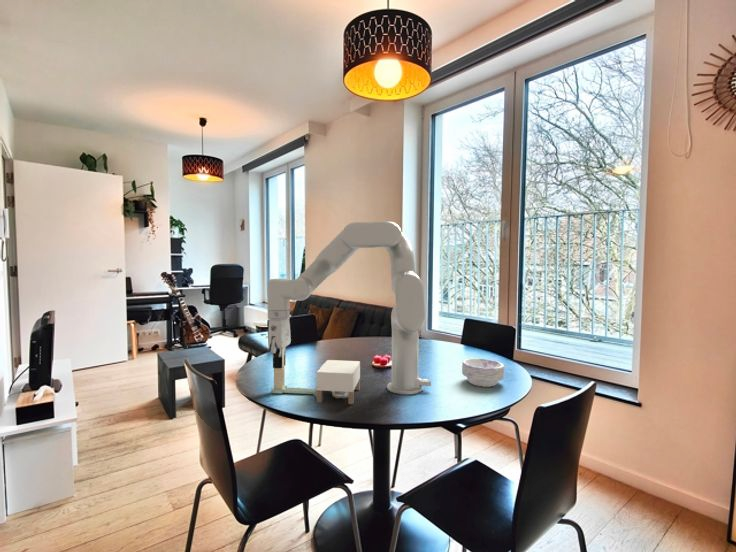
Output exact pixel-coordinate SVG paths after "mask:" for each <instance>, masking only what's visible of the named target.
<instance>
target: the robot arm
mask: <svg viewBox="0 0 736 552" xmlns="http://www.w3.org/2000/svg"><path fill="white" fill-rule="evenodd" d="M366 248H370V249H371V248H384V249H385V250H386V251H387V252H388V255H389V263H390V277H391V279H390V280H391V283H390V284H391V287H390V288H391V290H392V293H393V294H394V297H395V305H394V306H393V307H392V310H391V315H390V321H391V322H390V324H391V382H390V381H389V383H388V384H387V385H386V386H387V387H386V388H387V390H388V391H389V392H391V393H393V394H398V395H406V396H407V395H415V394H419V393H421V392H422V391H423V387H424V386H425V387H431V386H432V380H428V378H421V377H420V374H419V344H420V340H419V338H420V337H419V336H420V335H419V330H421V328H422V327H424V323H425V318H426V316H425V314H426V313H425V294H424V285H423V282H422V279H421V278H420V276H419V275H418V274H416V265H415V264H416V263H415V254H414V249H413V246H412V244H411V242H410V240H409V238H408V237H407V236H406V235H405V234H404V233H403V232H402V229H401V227H400V226H399V225H398V224H397V223H396V222H393V221H389V220H388V221H386V220H385V221H365V222H364V221H363V222H362V221H359V222H357V221H356V222H350V223H348V224H346V225H345V226H344V227H343V229H342V230H341V231H340V232H339V233H338V234H337V235H336V236H335V237H334V238H333V239H332V240H331V241H330V242H329V243H328V244H327V245H326V246H325V247H324V248H323V249H322V250H321V251H320V252H319V254H317V255H316V258H315V259H314V261H313V262H312V263H311V264H310V265H309V266H308V267H307V268H306V269H305V270H304V271H303V272H302V273H300V275H299V276H298V277H297V278H294V279H287V278H272V279H269V280H268V281H267V283H266V285H267V288H266V289H267V320H269V321H268V334H267V338H268V339H267V343H268V344H267V345H268V348H269V349H270V353H271V354H272V368H273V369H274V368H280V369H281V368H282V357H281V349H283V348H284V367H285V366H286V353H287V350H286V347H288V346H289V345H290V344H291V341H292V339H291V337H292V335H291V322H290V319H291V311H290V310H291V303H290V302H291V301H297V302H298V301H300V302H301V301H305V300H307V299H308V298H309V297H310V296H311V294H312V293H313V292H314V291H315V290H316V289H317V288H318V287H319V286H320V285H321V284H322V283H323V282H324V281H325V280H326V279H327V278H329V276H331V275H332V274H334V273H335V272H337V271H338V270H339V269H340V268H341V267H342V266H343V265H344V264H345V263H346V262H347V261H348V260H349V259H350V258H351V257H352V256H353V255H354V254H355V253H356V252H357V251H358V250H359V249H366ZM290 300H291V301H290ZM276 347H278V348H276ZM278 350H279V352H278Z"/></svg>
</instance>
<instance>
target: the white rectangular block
mask: <svg viewBox="0 0 736 552" xmlns="http://www.w3.org/2000/svg"><path fill="white" fill-rule="evenodd" d="M316 388H317V396H316V403H320V402H321V403H322V402H323V391H329V392H332V391H342V392H348V397H347V398H348V401H347V403H348V405H353V404H354V402H355V401H354V400H355V391H360V389H361V361H359V360H342V359H341V360H339V359H338V360H337V359H327V360H326V361H325V362H324V363H323V364H322V365H321V366H320V369H317V371H316ZM322 390H323V391H322Z"/></svg>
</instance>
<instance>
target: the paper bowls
mask: <svg viewBox="0 0 736 552" xmlns="http://www.w3.org/2000/svg"><path fill="white" fill-rule="evenodd" d="M461 363H462V365H461V374H462V375H463V376H464V377H466V379H467V380H468V383H469V384H470V385H471V384H472V385H474V386H477V387H481V386H482V387H481V388H483V387H484V388H490V387H491V386H492V387H495V386H496V385H497V384H498V383H499V381H502V380H504V378H505V377H504V376H505V364H504V363H502V362H500V361H498V360H493V359H489V358H478V357H477V358H476V357H475V358H473V357H472V358H466V359H464V360H462V362H461Z"/></svg>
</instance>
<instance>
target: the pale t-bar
mask: <svg viewBox="0 0 736 552" xmlns="http://www.w3.org/2000/svg"><path fill="white" fill-rule="evenodd" d="M276 348H278V347H277V346H276ZM278 352H279V350H278ZM281 357H282V368H281V369H280V368H273V387H272V389H271V390H270V393H271V394H283V393H288V394H304V395H305V394H306V395H313V396H314V397H317V387H316V388H309V387H307V388H306V387H305V388H303V387H288V385H285V381H286V379H285V366H284V348H283V349H281ZM322 392H323V390H322Z"/></svg>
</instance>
